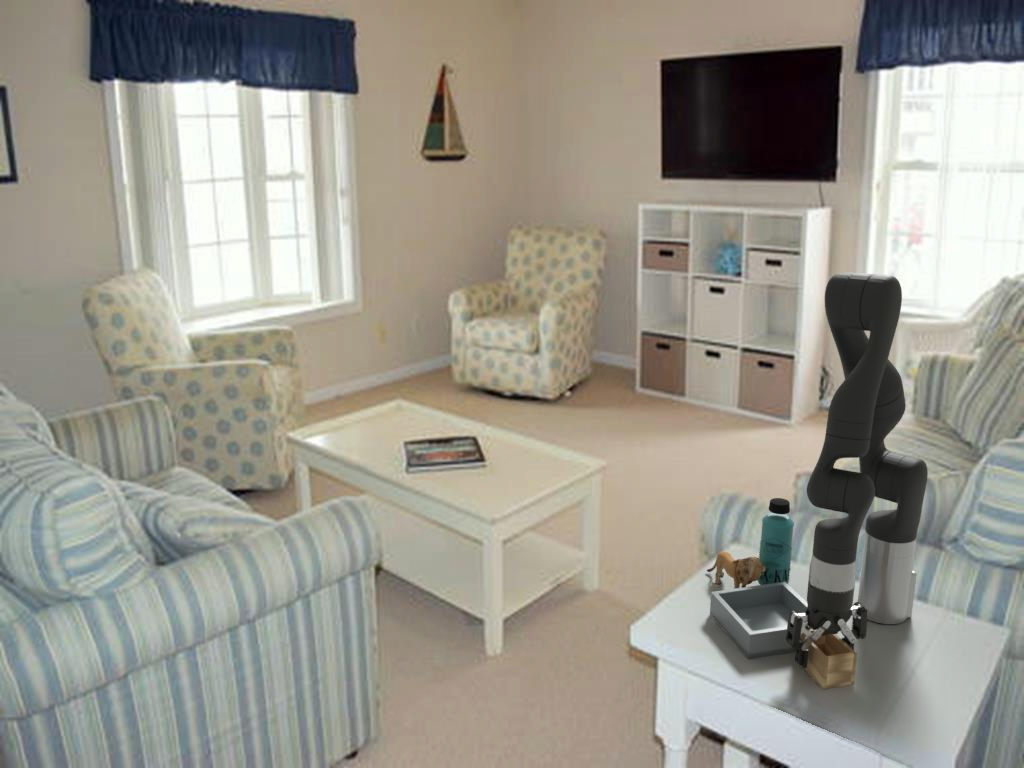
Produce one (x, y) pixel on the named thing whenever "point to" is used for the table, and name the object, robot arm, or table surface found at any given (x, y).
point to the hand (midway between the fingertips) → (823, 662)
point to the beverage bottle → (776, 543)
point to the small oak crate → (831, 662)
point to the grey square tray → (757, 617)
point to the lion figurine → (738, 569)
